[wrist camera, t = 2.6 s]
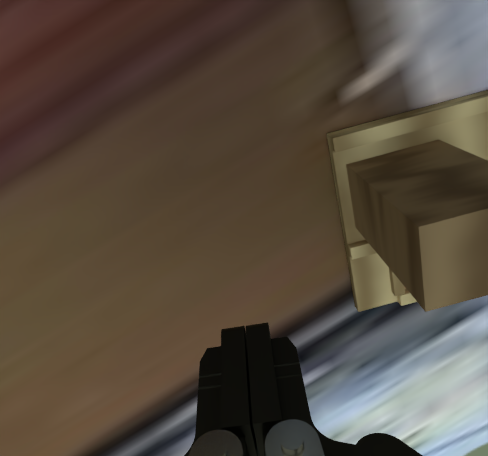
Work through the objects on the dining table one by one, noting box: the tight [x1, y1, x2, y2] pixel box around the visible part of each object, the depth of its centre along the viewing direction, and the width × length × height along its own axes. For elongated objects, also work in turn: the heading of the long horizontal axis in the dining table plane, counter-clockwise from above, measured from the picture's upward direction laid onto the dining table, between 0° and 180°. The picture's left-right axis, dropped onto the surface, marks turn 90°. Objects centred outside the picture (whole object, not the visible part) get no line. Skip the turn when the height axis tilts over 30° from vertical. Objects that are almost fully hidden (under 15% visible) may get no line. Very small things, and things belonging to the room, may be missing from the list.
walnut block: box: [346, 139, 488, 312], centre depth 32 cm, size 8×6×13 cm
